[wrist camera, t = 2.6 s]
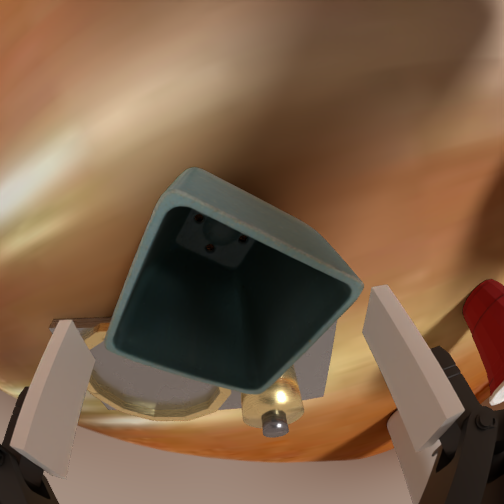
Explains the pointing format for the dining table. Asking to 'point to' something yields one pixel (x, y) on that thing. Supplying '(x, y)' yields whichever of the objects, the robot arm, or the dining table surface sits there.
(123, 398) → the board
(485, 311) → the plastic cup
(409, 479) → the cylinder vase
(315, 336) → the flower pot
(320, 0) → the dining table surface
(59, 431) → the robot arm
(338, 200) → the dining table surface
